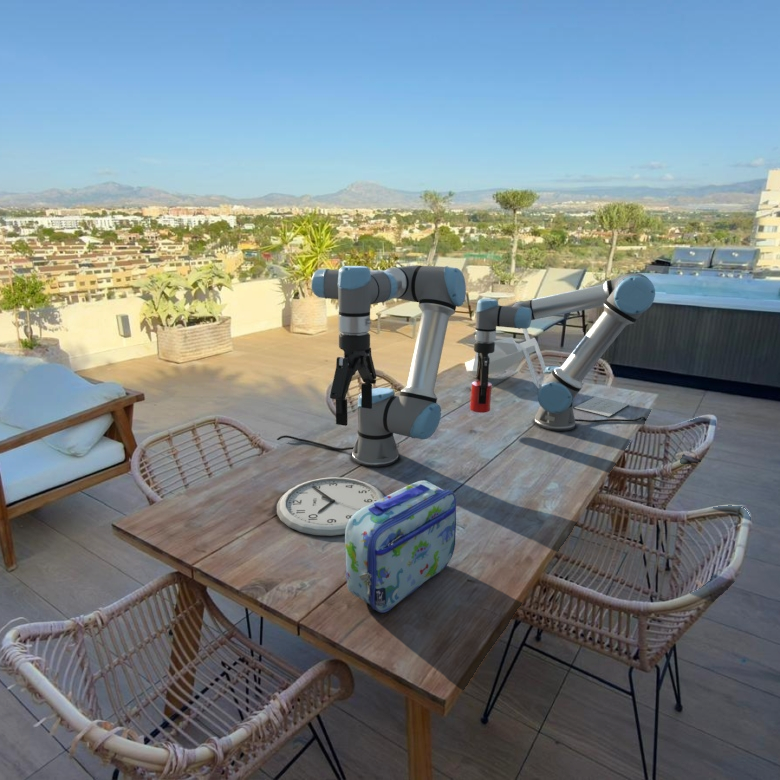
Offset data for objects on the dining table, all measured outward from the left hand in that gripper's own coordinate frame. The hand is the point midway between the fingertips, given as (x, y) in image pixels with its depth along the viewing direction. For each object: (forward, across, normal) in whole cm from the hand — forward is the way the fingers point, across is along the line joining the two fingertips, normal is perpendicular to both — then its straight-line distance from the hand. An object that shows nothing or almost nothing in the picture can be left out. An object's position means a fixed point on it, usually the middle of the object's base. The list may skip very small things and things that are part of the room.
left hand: (354, 415), depth 131 cm
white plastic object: (+27, +140, -10) cm, 143 cm away
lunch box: (+27, -22, -23) cm, 42 cm away
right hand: (+17, +78, -14) cm, 81 cm away
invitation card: (+27, +123, -56) cm, 138 cm away
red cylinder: (+21, +78, -14) cm, 82 cm away
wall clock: (+27, 0, +7) cm, 28 cm away
